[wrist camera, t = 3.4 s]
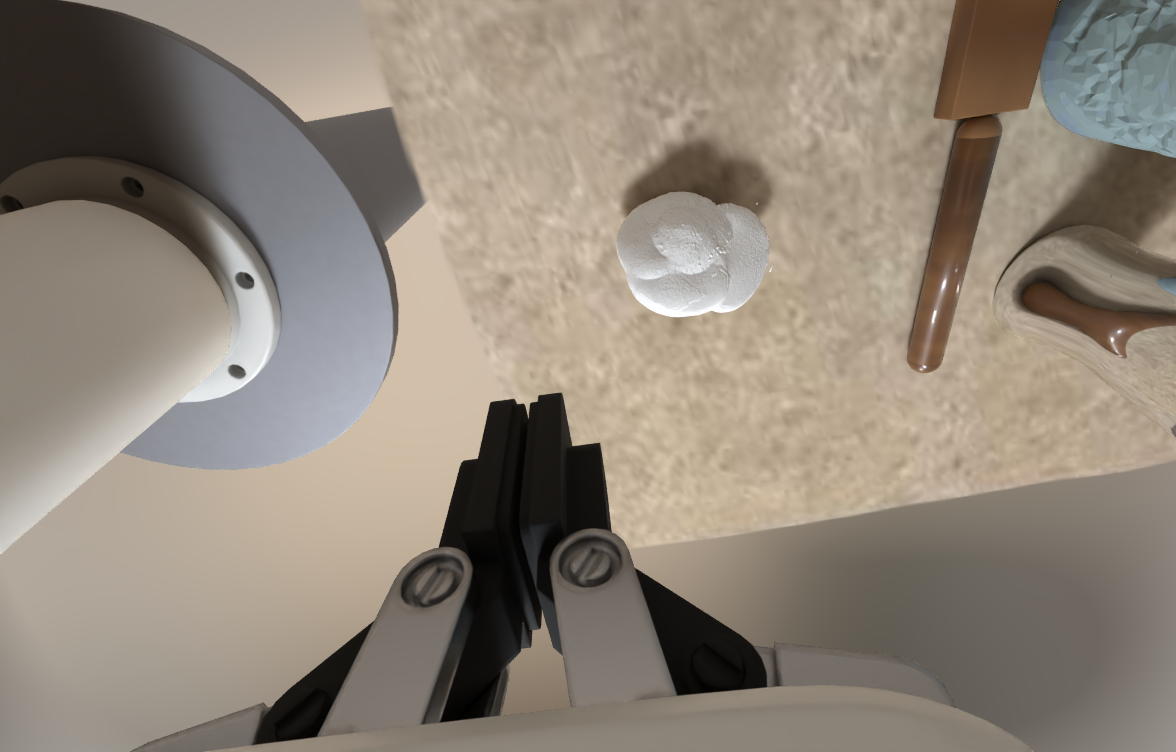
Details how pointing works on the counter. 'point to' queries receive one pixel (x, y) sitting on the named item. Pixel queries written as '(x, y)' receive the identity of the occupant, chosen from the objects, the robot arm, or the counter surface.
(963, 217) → the wooden spatula
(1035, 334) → the chrome tumbler
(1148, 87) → the teal embossed cup
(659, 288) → the dumpling
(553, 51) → the counter surface
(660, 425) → the counter surface
